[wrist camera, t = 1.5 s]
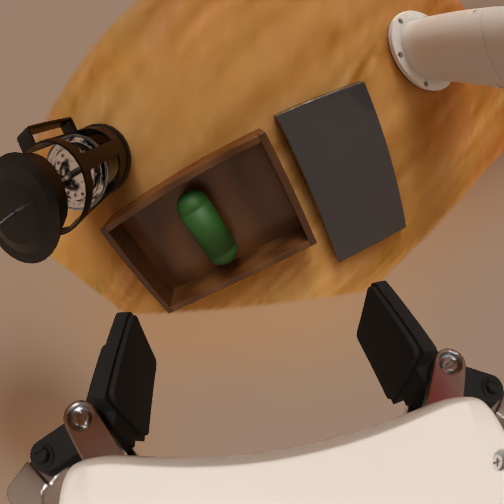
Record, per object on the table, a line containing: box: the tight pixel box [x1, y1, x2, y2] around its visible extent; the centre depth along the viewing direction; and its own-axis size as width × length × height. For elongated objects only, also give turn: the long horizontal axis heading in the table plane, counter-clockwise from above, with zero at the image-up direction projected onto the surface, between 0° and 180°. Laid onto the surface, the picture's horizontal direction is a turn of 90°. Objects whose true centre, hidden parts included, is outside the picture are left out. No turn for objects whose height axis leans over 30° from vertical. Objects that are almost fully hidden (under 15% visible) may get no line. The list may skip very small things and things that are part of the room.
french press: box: [0, 117, 131, 263], centre depth 19 cm, size 12×9×23 cm
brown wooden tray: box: [100, 129, 317, 313], centre depth 33 cm, size 22×15×4 cm
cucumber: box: [177, 189, 237, 265], centre depth 33 cm, size 4×10×4 cm, turn 27°
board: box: [274, 82, 406, 262], centre depth 33 cm, size 12×22×2 cm, turn 27°
